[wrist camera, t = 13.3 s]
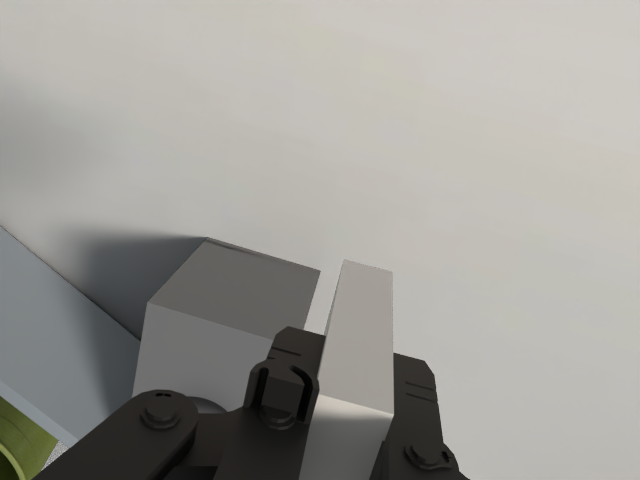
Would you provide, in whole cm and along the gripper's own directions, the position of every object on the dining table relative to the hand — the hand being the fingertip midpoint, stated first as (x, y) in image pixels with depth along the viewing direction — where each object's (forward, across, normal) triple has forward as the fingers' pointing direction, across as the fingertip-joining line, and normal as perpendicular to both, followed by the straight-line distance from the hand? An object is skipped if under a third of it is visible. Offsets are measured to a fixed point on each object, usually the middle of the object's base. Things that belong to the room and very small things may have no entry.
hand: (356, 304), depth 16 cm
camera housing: (+26, +7, +18) cm, 32 cm away
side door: (+25, +22, +20) cm, 39 cm away
